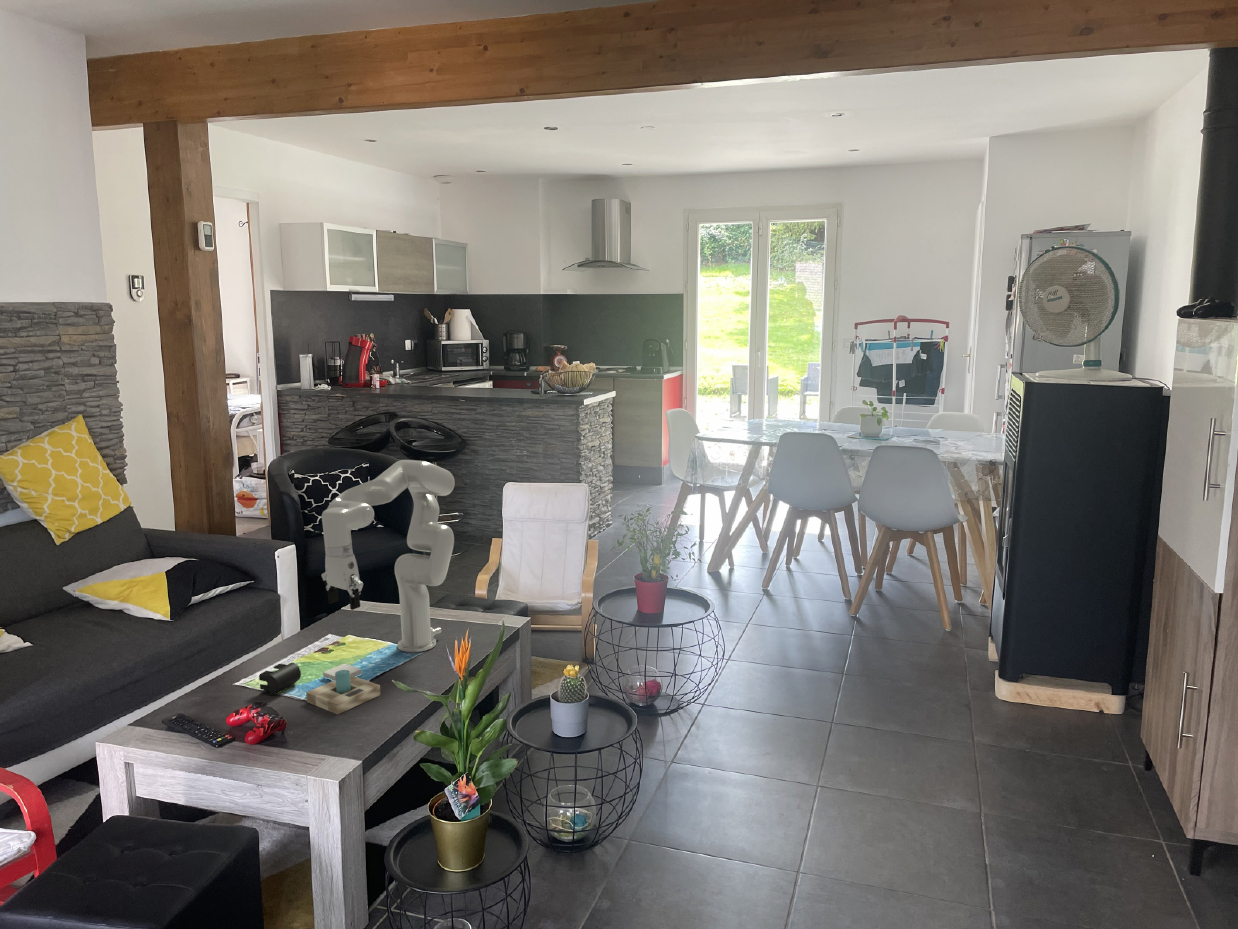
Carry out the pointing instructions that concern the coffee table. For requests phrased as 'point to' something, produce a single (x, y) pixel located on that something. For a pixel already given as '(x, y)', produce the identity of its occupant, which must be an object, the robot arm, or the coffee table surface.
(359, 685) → the plate
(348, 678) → the teal peg
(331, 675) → the light grey square slab
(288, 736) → the coffee table surface
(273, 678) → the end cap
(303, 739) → the coffee table surface
